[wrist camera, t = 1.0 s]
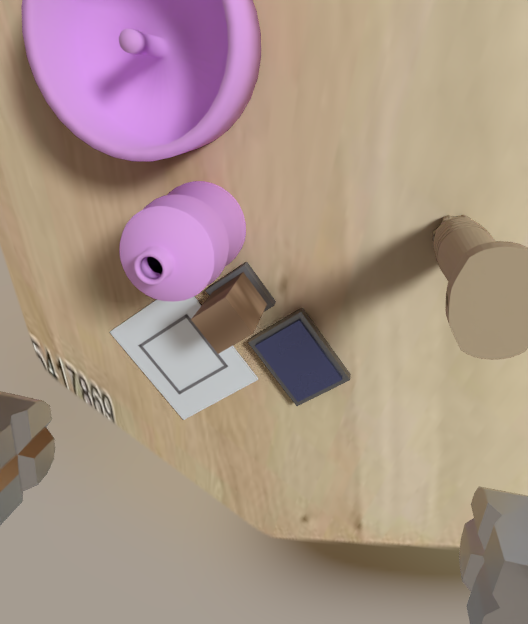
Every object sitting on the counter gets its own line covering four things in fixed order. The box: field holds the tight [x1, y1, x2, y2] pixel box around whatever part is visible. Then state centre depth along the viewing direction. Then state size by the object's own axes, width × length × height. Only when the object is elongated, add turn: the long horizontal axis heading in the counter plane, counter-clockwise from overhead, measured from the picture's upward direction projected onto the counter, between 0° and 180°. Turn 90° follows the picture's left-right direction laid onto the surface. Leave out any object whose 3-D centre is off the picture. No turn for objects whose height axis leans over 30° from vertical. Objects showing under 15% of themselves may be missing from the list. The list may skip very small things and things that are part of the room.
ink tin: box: [248, 308, 350, 406], centre depth 46 cm, size 8×6×1 cm
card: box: [110, 296, 258, 420], centre depth 49 cm, size 12×10×1 cm
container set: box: [22, 0, 261, 302], centre depth 34 cm, size 25×15×13 cm, turn 13°
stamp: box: [191, 262, 276, 354], centre depth 42 cm, size 4×4×7 cm
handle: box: [433, 215, 528, 360], centre depth 33 cm, size 5×6×15 cm
